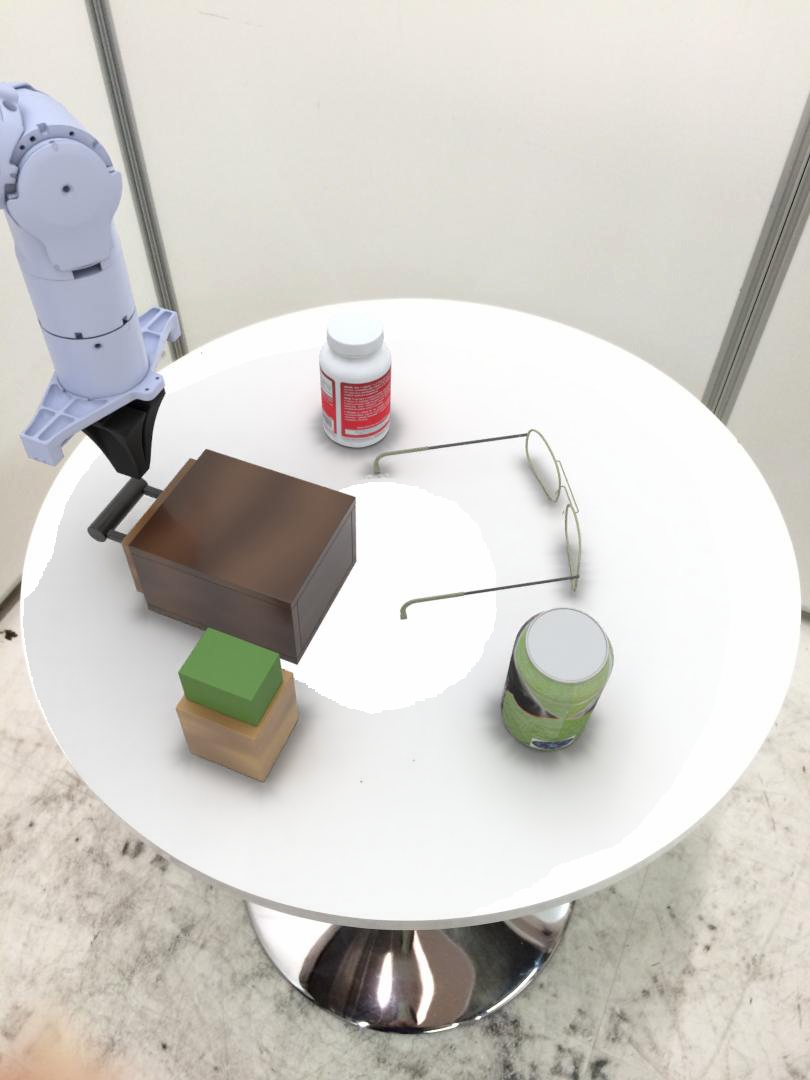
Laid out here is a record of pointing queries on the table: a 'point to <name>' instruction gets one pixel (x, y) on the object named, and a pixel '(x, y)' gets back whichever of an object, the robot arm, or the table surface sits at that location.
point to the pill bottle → (355, 380)
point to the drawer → (123, 505)
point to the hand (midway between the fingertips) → (133, 469)
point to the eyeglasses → (574, 585)
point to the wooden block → (241, 732)
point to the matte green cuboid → (231, 676)
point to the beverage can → (555, 677)
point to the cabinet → (247, 553)
